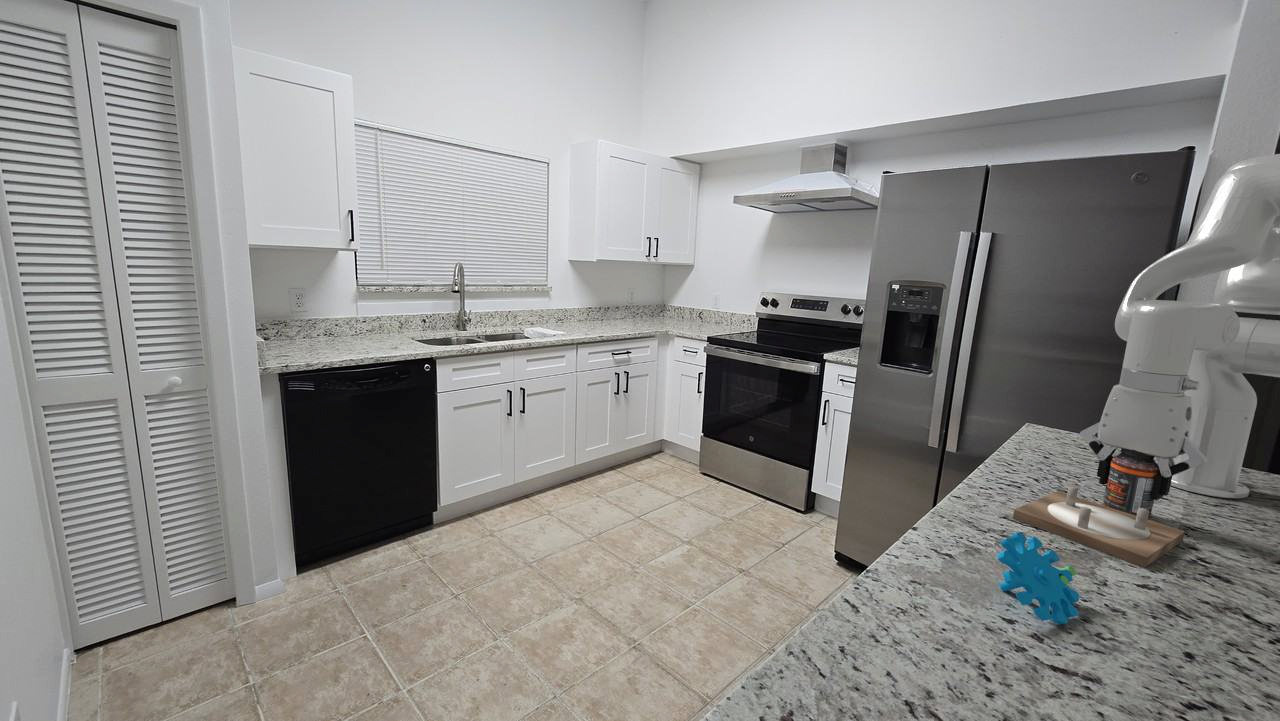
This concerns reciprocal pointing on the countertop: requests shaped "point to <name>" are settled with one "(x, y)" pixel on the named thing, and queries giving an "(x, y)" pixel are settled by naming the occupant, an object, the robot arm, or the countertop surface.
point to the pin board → (1101, 527)
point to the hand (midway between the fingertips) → (1130, 489)
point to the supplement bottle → (1131, 482)
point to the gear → (1038, 578)
